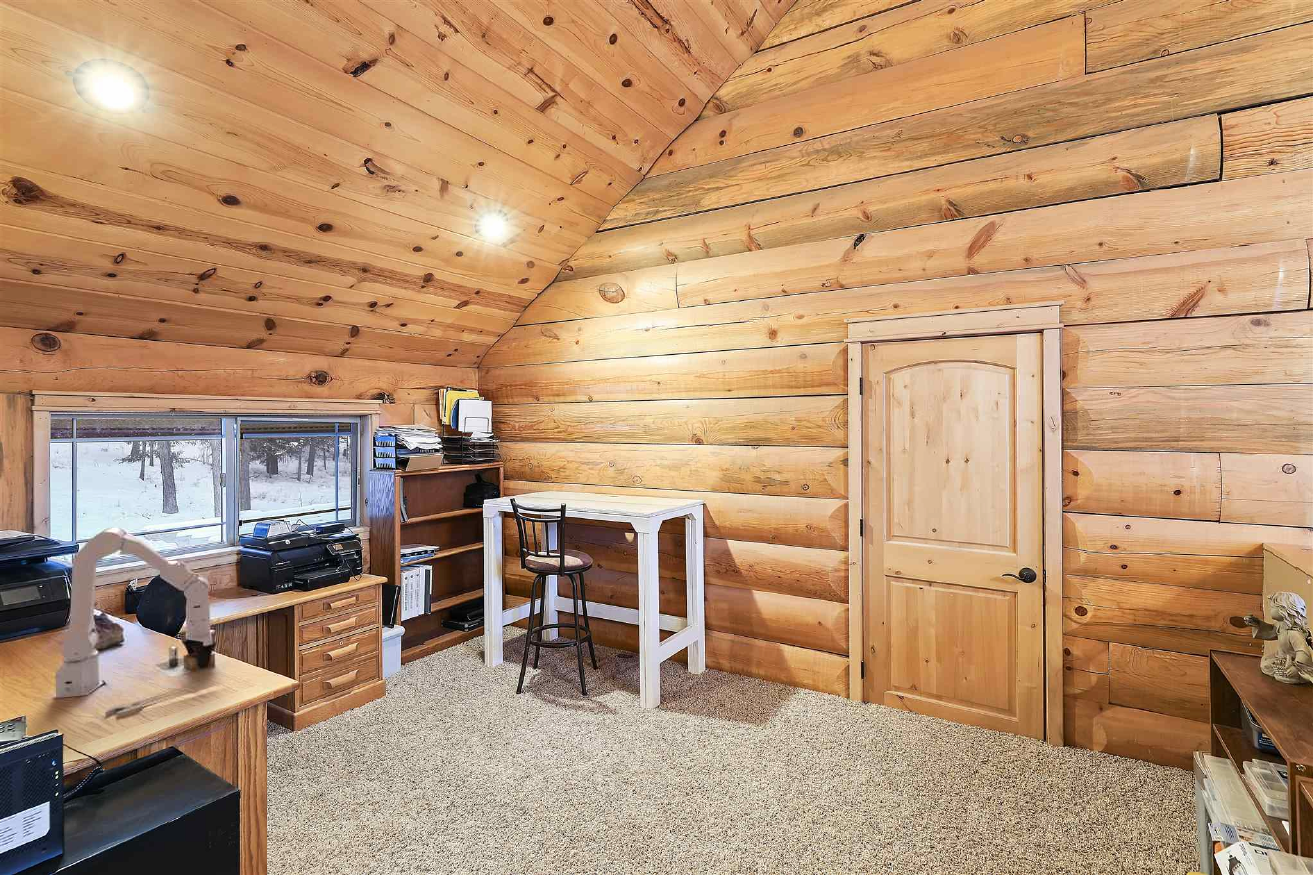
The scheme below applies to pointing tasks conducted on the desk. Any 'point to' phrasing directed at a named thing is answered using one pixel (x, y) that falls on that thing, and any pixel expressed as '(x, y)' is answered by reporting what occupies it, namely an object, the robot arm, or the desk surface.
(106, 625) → the geode
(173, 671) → the board
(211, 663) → the collar
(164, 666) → the post
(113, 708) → the adjustable wrench
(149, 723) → the desk surface
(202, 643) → the robot arm
